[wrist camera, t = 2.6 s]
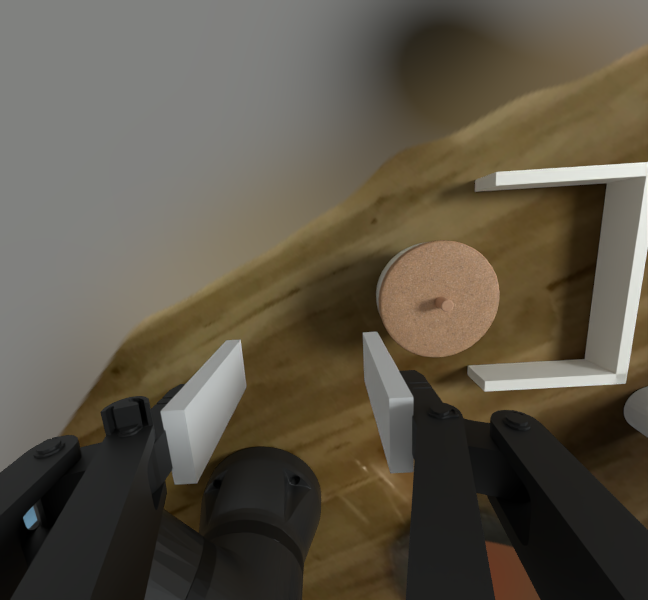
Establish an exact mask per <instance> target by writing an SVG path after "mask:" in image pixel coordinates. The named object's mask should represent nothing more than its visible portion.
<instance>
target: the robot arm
mask: <svg viewBox="0 0 648 600" xmlns="http://www.w3.org/2000/svg"><path fill="white" fill-rule="evenodd" d="M363 354H364V380H365V384H366V388H367V391H368V395H369V398H370V402H371V405H372V409H373V413H374V416H375V420H376V423H377V427H378V430H379V434H380V437H381V441H382V445H383V448H384V452H385V455H386V459H387V462H388V466H389V470H390V473H404V472H413V458H414V460H415V464H414V480H413V495H412V511H411V527H410V543H409V559H408V575H407V591H406V600H495V596H494V591H493V584H492V579H491V573H490V568H489V562H488V557H487V551H486V545H485V539H484V534H483V528H482V523H481V517H480V511H479V506H478V500H477V495H476V493H480V494H485V495H487V496H488V499H489V501H490V503H491V505H492V507H493V509H494V511H495V512H496V514H497V516H498V518H499V520H500V522H501V524H502V526H503V528H504V530H505V532H506V534H507V536H508V538H509V540H510V541H511V543H512V545H513V547H514V549H515V551H516V553H517V555H518V557H519V559H520V561H521V563H522V565H523V566H524V568H525V570H526V572H527V574H528V576H529V578H530V580H531V582H532V584H533V586H534V588H535V589H536V592H537V594H538V595H539V597H540V599H541V600H648V530H647V529H646V528H645V527H644V526H643V525H642V524H641V523H640V522H639V521H638V520H637V519H636V518H635V517H634V516H633V515H632V514H631V513H630V512H629V511H628V510H627V509H626V508H625V507H624V506H623V505H622V504H621V503H620V502H619V501H618V500H617V499H616V498H615V497H614V496H613V495H612V494H611V493H610V492H609V491H608V490H607V489H606V488H605V487H604V486H603V485H602V484H601V483H600V482H599V481H598V480H597V479H596V478H595V477H594V476H593V475H592V474H591V473H590V472H589V471H588V470H587V469H586V468H585V467H584V466H583V465H582V464H581V463H580V462H579V461H578V460H577V459H576V458H575V457H574V456H573V455H572V454H571V453H570V452H569V451H568V450H567V449H566V448H565V447H564V446H563V445H562V444H561V443H560V442H559V441H558V440H557V439H556V438H555V437H554V436H553V435H552V434H551V433H550V432H549V431H548V430H547V429H546V428H545V427H544V426H543V425H542V424H541V423H540V422H539V421H537V420H536V419H535V418H533V417H531V416H529V415H526V414H525V413H522V412H518V411H514V410H512V411H510V410H501V411H496V412H494V413H493V414H492V416H491V420H490V423H485V422H478V421H472V420H467V419H464V418H463V416H462V414H461V412H460V411H459V410H458V409H457V408H455V407H454V406H451V405H449V404H446V403H443V402H442V401H441V399H440V398H439V397H438V395H437V394H436V392H435V391H434V390H433V388H432V387H431V385H430V384H429V383H428V381H427V380H426V378H425V377H424V376H423V375H422V374H420V373H419V372H417V371H415V370H409V371H399V370H398V368H397V367H396V365H395V363H394V361H393V359H392V358H391V356H390V354H389V352H388V350H387V349H386V347H385V345H384V343H383V341H382V340H381V338H380V336H379V334H378V332H363ZM245 389H246V379H245V371H244V363H243V355H242V347H241V340H226V341H225V343H224V344H223V345H222V346H221V347H220V348H219V349H218V350H217V351H216V352H215V353H214V354H213V355H212V356H211V358H210V359H209V360H208V361H207V362H206V363H205V364H204V365H203V366H202V367H201V368H200V369H199V370H198V371H197V373H196V374H195V375H194V376H193V377H192V378H191V379H190V380H189V381H188V382H187V383H186V384H180V385H178V386H177V387H175V388H173V389H171V390H170V391H169V392H168V393H167V394H166V395H165V396H164V397H163V399H161V400H160V401H159V402H158V403H157V405H155V406H154V407H153V408H152V409H150V404H149V399H148V398H146V397H143V396H136V397H129V398H125V399H122V400H119V401H117V402H114V403H112V404H110V405H109V406H107V407H105V408H104V409H103V410H102V411H101V416H102V420H103V424H104V429H105V433H106V437H105V439H104V440H103V442H102V443H98V444H93V445H89V446H85V447H81V448H80V445H79V442H78V438H77V437H75V436H74V435H66V436H61V437H54V438H52V439H48V440H46V441H44V442H43V443H41V444H39V445H37V446H35V447H33V448H32V449H30V450H29V451H27V452H26V453H24V454H23V455H22V456H21V457H19V458H18V459H17V460H16V461H14V462H13V463H12V464H11V465H10V466H8V467H7V468H6V469H4V470H3V471H2V472H1V473H0V600H302V588H303V569H304V562H305V559H306V556H307V554H308V551H309V548H310V546H311V543H312V540H313V537H314V535H315V532H316V529H317V527H318V524H319V520H320V514H321V490H320V485H319V482H318V480H317V478H316V476H315V474H314V473H313V471H312V470H311V469H310V467H309V466H308V465H307V464H306V463H305V462H304V461H302V460H301V459H300V458H298V457H297V456H295V455H293V454H291V453H289V452H286V451H284V450H281V449H277V448H271V447H253V448H247V449H244V450H240V451H238V452H236V453H233V454H232V455H230V456H228V457H227V458H225V459H224V460H223V461H222V462H221V463H220V464H219V465H218V466H217V467H216V469H215V470H214V472H213V473H212V475H211V477H210V479H209V482H208V484H207V486H206V488H205V491H204V494H203V498H202V504H201V515H200V526H199V533H198V532H196V531H195V530H193V529H192V528H190V527H189V526H188V525H186V524H185V523H183V522H182V521H180V520H179V519H177V518H176V517H174V516H173V515H172V514H170V513H169V512H167V511H166V510H164V504H165V499H166V494H167V489H166V483H165V479H166V478H167V476H168V475H169V473H170V472H171V470H172V474H173V479H174V484H175V485H176V484H195V483H198V481H199V479H200V477H201V475H202V473H203V471H204V469H205V467H206V465H207V463H208V461H209V459H210V457H211V455H212V453H213V451H214V449H215V447H216V446H217V444H218V442H219V440H220V438H221V436H222V434H223V432H224V430H225V428H226V426H227V424H228V422H229V420H230V418H231V416H232V414H233V412H234V410H235V408H236V406H237V405H238V403H239V401H240V399H241V397H242V395H243V393H244V391H245Z"/></svg>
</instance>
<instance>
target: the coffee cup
mask: <svg viewBox="0 0 648 600" xmlns="http://www.w3.org/2000/svg"><path fill="white" fill-rule="evenodd" d="M624 417H625V419H626V421H627V422H628V423H629V424H630V425H631V426H632V427H634V428H635V429H636V430H638V431H639V432H641V433H642V434H644V435H645V436H646V437H648V387H644V388H642V389H639V390H637V391H636V392H634V393H633V394H632V395H631V396H630V397H629V399H628V400H627V402H626V404H625V406H624Z"/></svg>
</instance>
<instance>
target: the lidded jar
mask: <svg viewBox="0 0 648 600" xmlns="http://www.w3.org/2000/svg"><path fill="white" fill-rule="evenodd" d="M499 294H500V293H499V284H498V280H497V277H496V274H495V272H494V270H493V268H492V266H491V265H490V263H489V262H488V260H487V259H486V258H485V257H484V256H483V255H482V254H481V253H479V252H478V251H477V250H475V249H474V248H472V247H470V246H468V245H465V244H462V243H459V242H455V241H445V240H442V241H431V242H425V243H420V244H416V245H413V246H411V247H408V248H406V249H404V250H403V251H401V252H399V253H398V254H397V255H395V256H394V257H393V258H392V259H391V260H390V261H389V262H388V263H387V265H386V266H385V268H384V269H383V271H382V273H381V275H380V277H379V280H378V283H377V289H376V302H377V308H378V312H379V314H380V317H381V319H382V322H383V325H384V326H385V328H386V330H387V332H388V333H389V335H390V336H391V337H392V338H393V339H394V341H395V342H397V343H398V344H399V345H400V346H401V347H403V348H404V349H406V350H408V351H410V352H412V353H414V354H417V355H421V356H425V357H444V356H449V355H453V354H456V353H459V352H461V351H463V350H465V349H467V348H469V347H470V346H472V345H473V344H474V343H476V342H477V341H478V340H479V339H480V338H481V337H482V336H483V335H484V334H485V333H486V331H487V330H488V329H489V327H490V325H491V324H492V322H493V320H494V318H495V315H496V313H497V309H498V304H499Z"/></svg>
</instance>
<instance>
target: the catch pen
mask: <svg viewBox="0 0 648 600" xmlns="http://www.w3.org/2000/svg"><path fill="white" fill-rule="evenodd" d="M603 183H607V186H606V194H605V202H604V210H603V218H602V226H601V233H600V241H599V249H598V257H597V265H596V273H595V281H594V289H593V296H592V304H591V312H590V320H589V328H588V336H587V344H586V351H585V359H575V360H558V361H541V362H523V363H506V364H488V365H471V366H468V370H467V375H468V376H469V377H470V378H471V379H472V380H473V381H474V382H475V383H476V384H477V385H478V386H479V387H480V388H481V389H482V390H483V391H502V390H520V389H537V388H555V387H573V386H591V385H609V384H626V379H627V373H628V367H629V360H630V354H631V348H632V342H633V336H634V329H635V323H636V317H637V311H638V304H639V298H640V292H641V286H642V280H643V273H644V267H645V261H646V255H647V248H648V162H644V163H628V164H613V165H597V166H582V167H567V168H551V169H536V170H521V171H505V172H495V173H493V174H490V175H487V176H484V177H482V178H479V179H476V180H475V192H479V191H495V190H510V189H526V188H541V187H557V186H572V185H588V184H603Z"/></svg>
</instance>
